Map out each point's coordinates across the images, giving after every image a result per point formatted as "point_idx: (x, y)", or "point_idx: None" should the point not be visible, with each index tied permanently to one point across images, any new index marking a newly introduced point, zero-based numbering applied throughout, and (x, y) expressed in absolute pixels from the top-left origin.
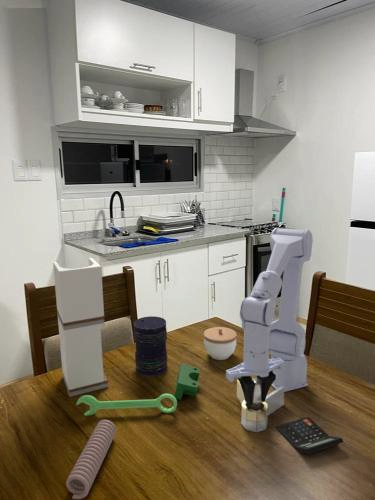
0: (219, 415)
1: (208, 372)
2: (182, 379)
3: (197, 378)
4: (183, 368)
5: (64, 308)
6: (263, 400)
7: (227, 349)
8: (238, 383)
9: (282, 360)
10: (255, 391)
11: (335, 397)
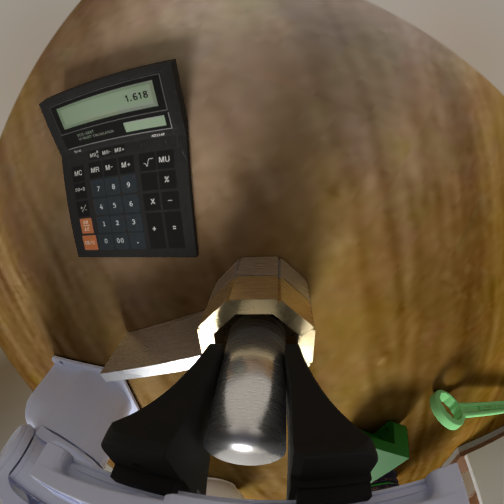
0: (344, 361)
1: (268, 467)
2: (386, 466)
3: None
4: None
5: None
6: (217, 348)
7: None
8: None
9: (40, 483)
10: (265, 399)
11: (12, 294)
